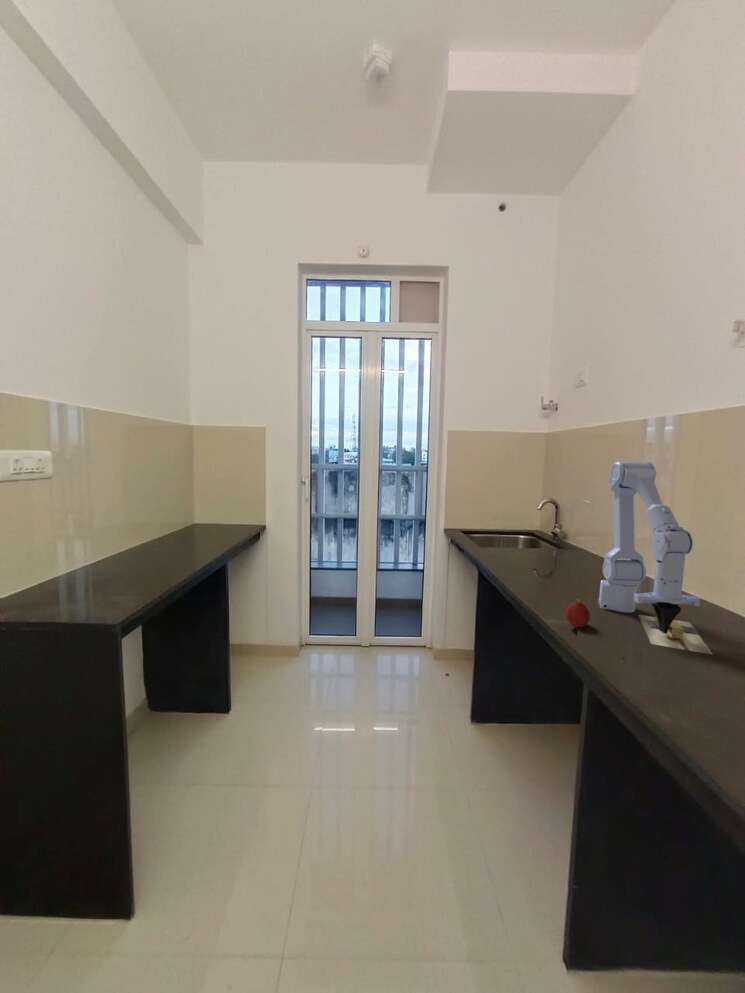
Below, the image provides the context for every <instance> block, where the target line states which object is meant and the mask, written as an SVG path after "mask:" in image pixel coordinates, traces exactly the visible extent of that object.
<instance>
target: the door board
mask: <svg viewBox="0 0 745 993" xmlns="http://www.w3.org/2000/svg"><path fill="white" fill-rule="evenodd" d="M638 617H639V620H640V622H641V624H642V627H643V629H644V631H645V633H646V636H647V638H648V640H649V642H650V644H651V645H655V646H659V647H666V648H672V649H677V650H685V651H690V652H695V653H702V654H707V655H712V656H713V654H714V653H713V652H712V651H711V649H710V648H709V647H708V645H707V644H706V643H705V641H704V640H703V639H702V637H701V636H700V634H699V632H698V630H697V629H696V628H695V627H694V626H693V625H692V624H691V622H690V621H683V620H676V619H674V620H673V621H674V622H675V623H677V624H678V625H679V626H681V627H682V628H683V637H682V639H677V638H671V637H670V636H669V635H667V634H666V633H663V632H662V631H660V630H659V627H658V626H657V625H656V624H655V618H656V616H649V615H644V614H638Z"/></svg>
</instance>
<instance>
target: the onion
mask: <svg viewBox="0 0 745 993" xmlns="http://www.w3.org/2000/svg"><path fill="white" fill-rule="evenodd" d="M565 618H566V619H565V620H567V622H568V624H570V626H572V627H573V628H574V627H575V628H577V629H578V628H584V627H586V626H587V625H588V624H589V622H590V619H591V615H590V611H589V609H588V608H587V606H586V605H585V604H584V603H582V601H581V600H580V599H576V600H575V602H572V603H571V604H570V605H569V606H567V608H566V611H565ZM575 628H574V629H575Z"/></svg>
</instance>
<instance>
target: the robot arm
mask: <svg viewBox="0 0 745 993" xmlns="http://www.w3.org/2000/svg"><path fill="white" fill-rule="evenodd" d="M656 477H657V470H656V467H655V466H654V464H653V463H652V462H648V461H646V462H639V461H638V462H637V461H636V462H635V461H634V462H633V461H632V462H631V461H616V462H614V463H613V464H612V466H611V468H610V470H609V490H610V491H612V492H613V536H614V537H613V540H614V544H613V546H614V548H613V549H610V551H608V552H607V553H606V554H604V559H603V560H604V561H603V564H602V575H603V576H604V578H605V579H601V580H600V584H599V597H598V599H597V600H598V601H597V604H598V605H599V608H600V609H604V610H611V611H616V612H619V613H620V612H621V613H633V612H635V611H636V603H637V604H644V603H645V604H651V605H652V608H653V610H654V611H655V612H654V613H655V616H656V615H657V619H658V623H659V630H660V631H662V632H663V633H667V632H668V629H669V627H670V625H671V623H672V621H673V620H675V618H676V617H677V616H678V615H679V613H681V610H682V607H681V606H679V605H684V606H685V605H686V606H695V607H700V604H701V598H699V597H698V596H695V595H688V594H687V595H686V594H682V591H683V583H684V581H683V580H684V572H685V563H686V555H688V554H689V553H691V551H692V549H693V547H694V546H693V545H694V542H693V541H694V540H693V537H692V535H691V532H689V531H688V530H685V529H684V527H681V526H680V524H679V523H678V522H677V519H676V517H675V515H674V513H673V511H672V509H671V507H669V506H668V505H666V504H663V501H662V500H661V499H662V498H661V497H660V494H659V491H658V489H657V486H656V483H655V480H656ZM637 493H638V495H639V497H640V499H641V500H642V503H644V505H645V507H646V509H647V510H646V511H645V513H644V514H645V518H646V520H647V522H648V525H649V527H650V529H651V531H652V533H653V539H652V547H653V551H654V552H653V556H654V559H655V560H656V561H655V562H656V563H655V571H654V580H653V590H652V592H651V591H650V592H641V593H640V592H639V593H638V592H637V589H638V586H639V585H640V583H641V582H643V581H644V579H645V578H646V574H647V571H646V570H647V569H646V566H645V563H644V556H643V555H642V554H640V553H639V552H638V551H637V550H636V549H635V504H634V503H635V502H634V501H635V500H634V496H635V495H636V494H637Z"/></svg>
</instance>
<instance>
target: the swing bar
mask: <svg viewBox="0 0 745 993" xmlns="http://www.w3.org/2000/svg"><path fill="white" fill-rule="evenodd" d="M655 617H656V618H655V624H656V625H657V626H658V627H659V623H658V619H657V615H656V614H655ZM666 634H667V635H669V636H670V637H671V638H677V639H682V637H683V628H682V627H681V626H679V625H678V624H677V623H675V622H674V621H672V623H671V625H670V627H669V629H668V632H667V633H666Z"/></svg>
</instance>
